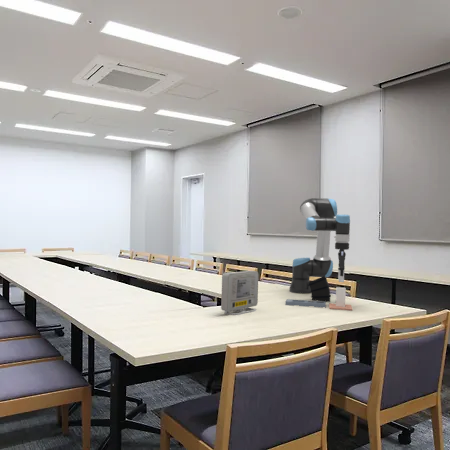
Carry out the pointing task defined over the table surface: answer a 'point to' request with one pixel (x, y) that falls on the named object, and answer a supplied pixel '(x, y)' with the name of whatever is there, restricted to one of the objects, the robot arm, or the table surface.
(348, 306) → the mat
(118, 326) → the table surface
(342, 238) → the robot arm
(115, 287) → the table surface
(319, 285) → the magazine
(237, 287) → the network device
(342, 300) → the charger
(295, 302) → the power strip
